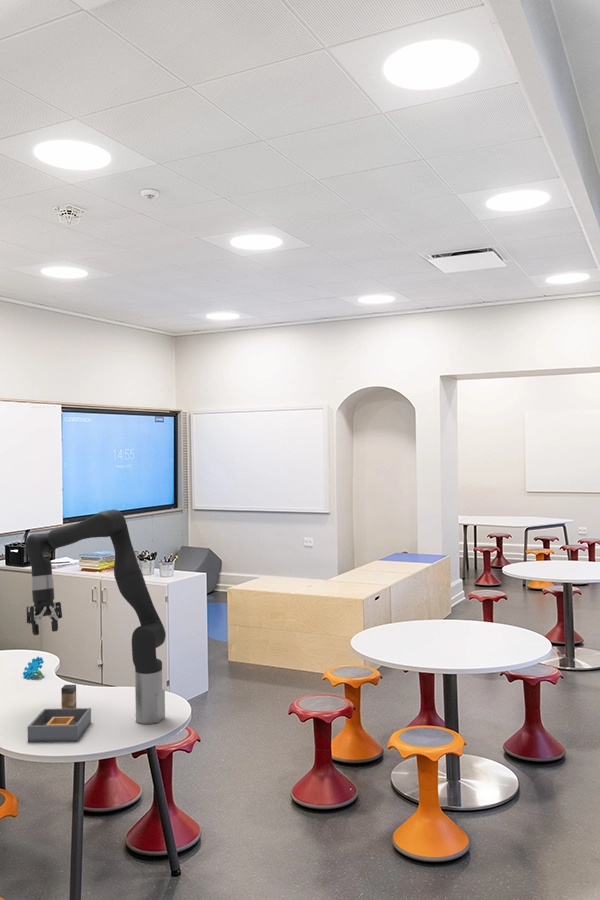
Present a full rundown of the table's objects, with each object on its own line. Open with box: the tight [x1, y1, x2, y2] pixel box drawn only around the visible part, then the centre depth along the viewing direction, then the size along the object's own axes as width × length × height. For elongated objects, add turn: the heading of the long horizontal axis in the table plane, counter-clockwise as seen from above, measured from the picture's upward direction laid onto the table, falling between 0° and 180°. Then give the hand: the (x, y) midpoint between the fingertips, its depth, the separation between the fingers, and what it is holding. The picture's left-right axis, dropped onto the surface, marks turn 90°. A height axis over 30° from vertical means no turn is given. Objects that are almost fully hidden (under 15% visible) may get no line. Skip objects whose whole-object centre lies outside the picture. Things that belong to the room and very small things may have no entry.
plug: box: [60, 684, 77, 709], centre depth 262 cm, size 4×4×10 cm
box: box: [27, 707, 92, 743], centre depth 246 cm, size 16×16×5 cm
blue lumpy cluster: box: [22, 656, 45, 680], centre depth 306 cm, size 11×6×10 cm
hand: (45, 633), depth 269 cm, fingers open, 8 cm apart
